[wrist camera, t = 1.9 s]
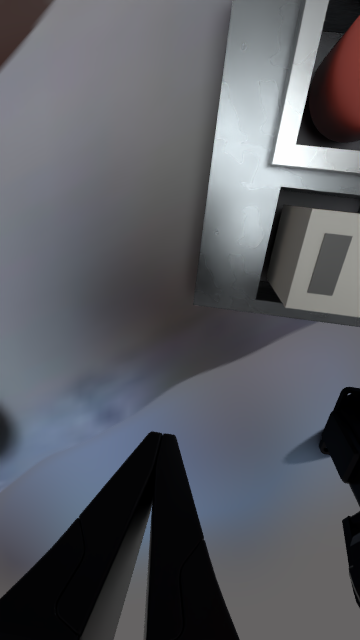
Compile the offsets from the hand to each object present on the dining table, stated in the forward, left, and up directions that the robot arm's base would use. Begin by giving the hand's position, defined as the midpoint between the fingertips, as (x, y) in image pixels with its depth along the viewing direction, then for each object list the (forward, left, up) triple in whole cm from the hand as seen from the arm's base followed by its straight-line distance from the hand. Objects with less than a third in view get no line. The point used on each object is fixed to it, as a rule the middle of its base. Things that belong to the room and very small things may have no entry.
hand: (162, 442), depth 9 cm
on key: (-6, -5, -10) cm, 13 cm away
